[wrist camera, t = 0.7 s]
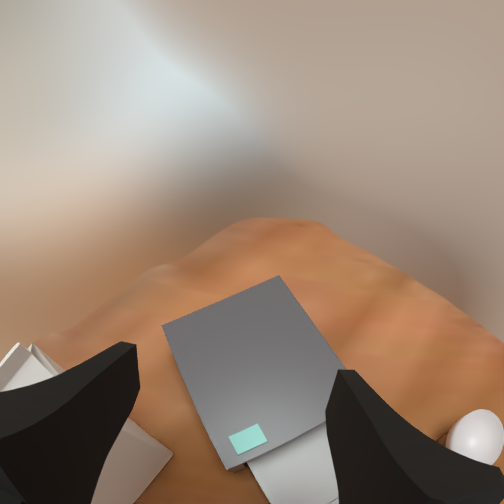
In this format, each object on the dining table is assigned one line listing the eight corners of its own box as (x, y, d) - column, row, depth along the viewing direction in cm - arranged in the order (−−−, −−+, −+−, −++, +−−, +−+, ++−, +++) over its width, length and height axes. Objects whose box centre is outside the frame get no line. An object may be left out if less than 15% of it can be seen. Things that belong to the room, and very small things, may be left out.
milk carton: (175, 453, 25) (55, 389, 10) (132, 505, 21) (-22, 489, 7) (120, 410, 27) (-5, 306, 13) (81, 458, 23) (-69, 388, 9)
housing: (350, 411, 26) (365, 394, 22) (234, 472, 23) (225, 469, 19) (278, 304, 35) (279, 273, 31) (175, 349, 32) (160, 323, 28)
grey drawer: (397, 478, 21) (416, 475, 18) (279, 548, 18) (280, 557, 15) (320, 366, 30) (327, 348, 27) (207, 421, 27) (198, 411, 23)
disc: (502, 443, 18) (513, 439, 17) (464, 485, 16) (474, 483, 15) (474, 402, 21) (483, 397, 20) (434, 441, 20) (443, 438, 19)
